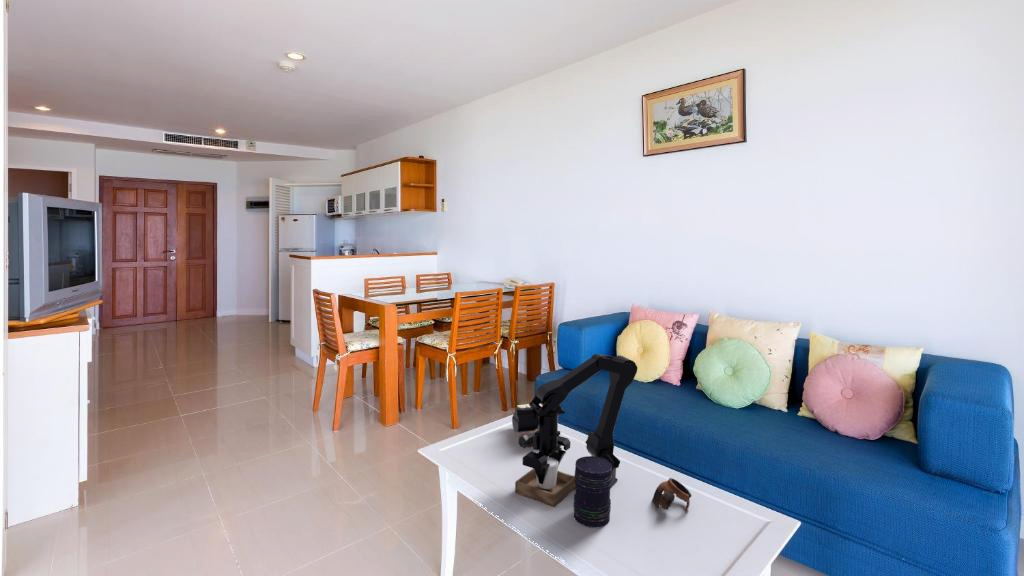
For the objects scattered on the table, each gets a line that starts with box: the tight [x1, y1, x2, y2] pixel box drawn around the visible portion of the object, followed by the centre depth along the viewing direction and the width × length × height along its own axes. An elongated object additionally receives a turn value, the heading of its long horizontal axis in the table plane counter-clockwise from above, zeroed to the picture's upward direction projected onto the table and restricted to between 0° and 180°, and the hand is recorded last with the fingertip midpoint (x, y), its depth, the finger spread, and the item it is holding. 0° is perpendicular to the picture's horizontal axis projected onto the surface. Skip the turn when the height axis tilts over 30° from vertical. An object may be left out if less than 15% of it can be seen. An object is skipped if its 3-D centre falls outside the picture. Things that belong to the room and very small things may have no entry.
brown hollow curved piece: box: [651, 477, 692, 511], centre depth 139 cm, size 12×10×8 cm
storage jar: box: [573, 455, 612, 529], centre depth 133 cm, size 10×10×15 cm
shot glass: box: [536, 457, 559, 489], centre depth 146 cm, size 7×7×7 cm
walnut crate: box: [514, 468, 576, 508], centre depth 147 cm, size 13×13×4 cm
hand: (546, 479), depth 147 cm, fingers closed on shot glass, 6 cm apart
